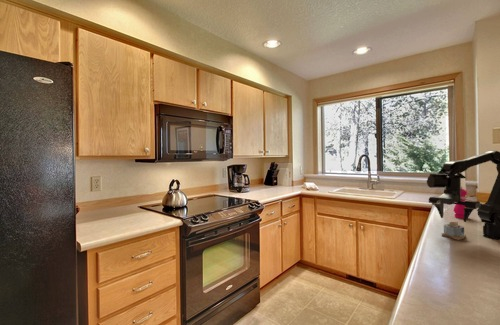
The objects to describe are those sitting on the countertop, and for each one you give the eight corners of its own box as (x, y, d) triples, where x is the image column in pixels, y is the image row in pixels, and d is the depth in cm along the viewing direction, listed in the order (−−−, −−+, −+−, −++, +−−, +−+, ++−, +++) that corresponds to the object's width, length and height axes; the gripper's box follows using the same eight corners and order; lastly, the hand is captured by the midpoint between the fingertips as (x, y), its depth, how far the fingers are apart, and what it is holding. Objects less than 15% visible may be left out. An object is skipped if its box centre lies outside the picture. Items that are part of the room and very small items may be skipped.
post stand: (466, 237, 116) (466, 222, 116) (459, 239, 113) (458, 224, 113) (448, 233, 122) (448, 219, 122) (441, 235, 119) (441, 221, 119)
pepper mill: (463, 219, 150) (462, 187, 150) (450, 216, 157) (450, 185, 157) (471, 218, 152) (471, 186, 152) (458, 215, 159) (458, 185, 159)
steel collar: (466, 235, 116) (466, 226, 116) (459, 237, 113) (459, 228, 113) (448, 231, 122) (448, 223, 122) (441, 233, 119) (441, 225, 119)
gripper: (422, 186, 122) (422, 217, 122) (469, 190, 105) (470, 226, 105) (434, 185, 127) (434, 215, 127) (480, 189, 110) (481, 223, 111)
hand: (453, 219), depth 117 cm, fingers open, 9 cm apart
